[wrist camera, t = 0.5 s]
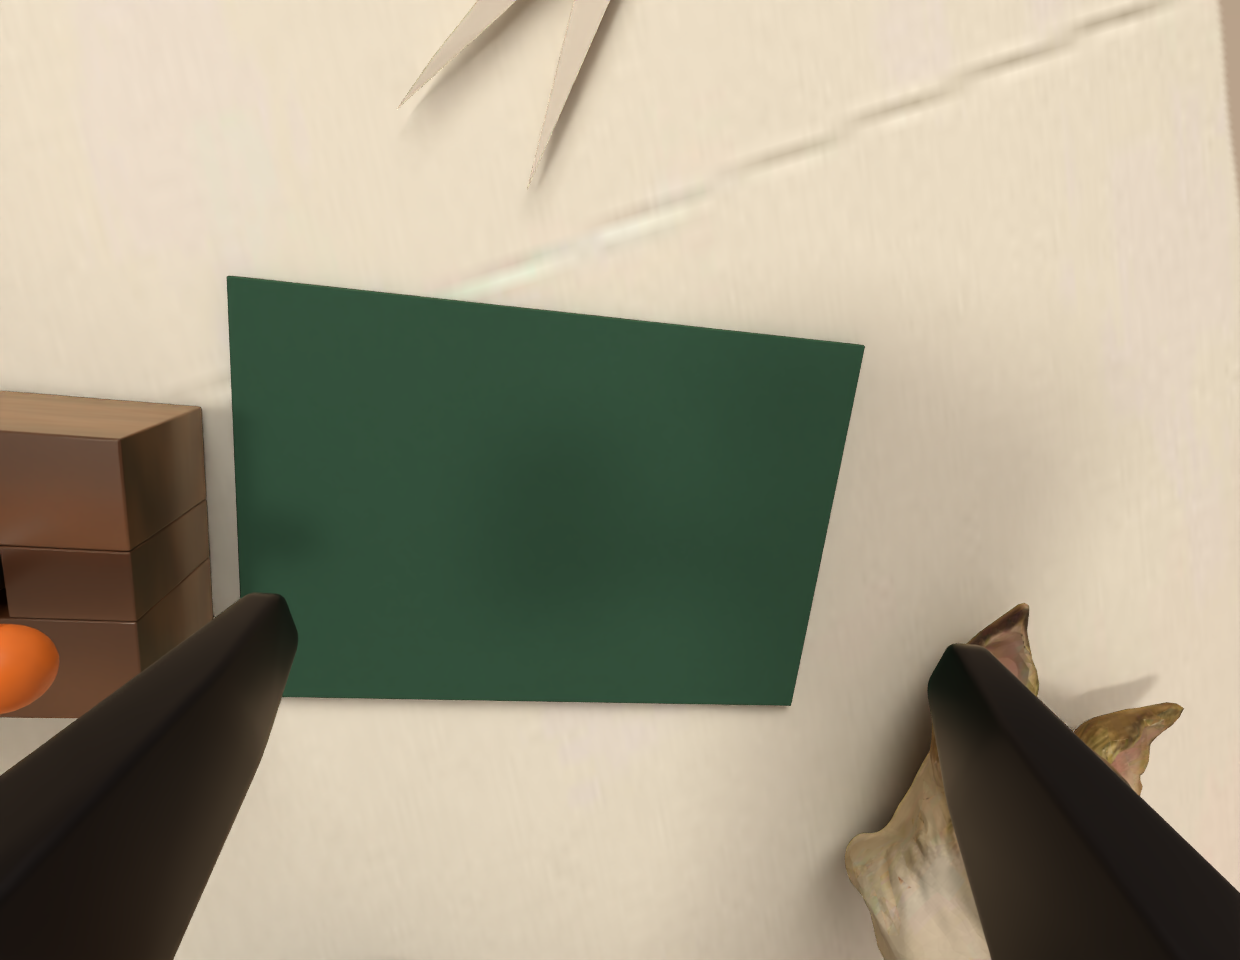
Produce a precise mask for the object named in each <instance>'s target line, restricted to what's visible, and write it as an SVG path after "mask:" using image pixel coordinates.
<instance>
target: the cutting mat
mask: <svg viewBox="0 0 1240 960" xmlns="http://www.w3.org/2000/svg"><path fill="white" fill-rule="evenodd" d="M227 294H228V318H229V342H230V365H231V389H232V412H233V436H234V460H235V483H236V507H237V531H238V554H239V578H240V599H241V598H242V597H244V596H245V595H247V594H250V593H253V592H261V593H274V594H280V595H282V596H283V597H284V598H285V600H286V602H287V604H288V607H289V610H290V613H291V615H292V618H293V621H294V623H295V626H296V629H297V632H298V646H297V650H296V654H295V657H294V660H293V663H292V666H291V669H290V673H289V676H288V679H287V682H286V685H285V688H284V692H283V695H282V697H315V698H373V699H431V700H489V701H547V702H605V703H664V704H722V705H780V706H791V703H792V698H793V693H794V688H795V684H796V679H797V674H798V669H799V664H800V659H801V654H802V650H803V645H804V640H805V635H806V630H807V625H808V620H809V616H810V611H811V606H812V601H813V596H814V591H815V586H816V582H817V577H818V572H819V567H820V562H821V557H822V552H823V547H824V543H825V538H826V533H827V528H828V523H829V518H830V513H831V509H832V504H833V499H834V494H835V489H836V484H837V479H838V475H839V470H840V465H841V460H842V455H843V450H844V445H845V441H846V436H847V431H848V426H849V421H850V416H851V411H852V407H853V402H854V397H855V392H856V387H857V382H858V377H859V373H860V368H861V363H862V358H863V353H864V348H865V346H864V345H859V344H850V343H840V342H831V341H822V340H813V339H804V338H795V337H786V336H776V335H767V334H758V333H749V332H740V331H731V330H722V329H712V328H703V327H694V326H685V325H676V324H667V323H658V322H649V321H639V320H630V319H621V318H612V317H603V316H594V315H585V314H575V313H566V312H557V311H548V310H539V309H530V308H521V307H511V306H502V305H493V304H484V303H475V302H466V301H457V300H447V299H438V298H429V297H420V296H411V295H402V294H393V293H384V292H374V291H365V290H356V289H347V288H338V287H329V286H320V285H310V284H301V283H292V282H283V281H274V280H265V279H256V278H246V277H237V276H227Z"/></svg>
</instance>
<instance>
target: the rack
mask: <svg viewBox="0 0 1240 960" xmlns="http://www.w3.org/2000/svg"><path fill="white" fill-rule="evenodd" d="M0 545H2V546H0V554H1V561H2V568H3V575H4V582H5V588H3V589H1V590H0V624H16V625H25V626H28V627H31V628H34V629H37V630H39V631H40V632H42V633H44V634H45V635H46V636H48V637H49V638H50V639H51V641H52V642H53V643H54V644H55V647H56V649H57V651H58V654H59V668H58V672H57V675H56V677H55V680H54V681H53V683H52V685H51V686H50V687H49V689H48V690H47V691H46V692H45V693H44V694H43V695H42V696H41V697H39V698H38V699H37V700H35V701H34V702H32V703H31V704H29V705H27V706H25V707H23V708H20V709H18V710H16V711H12V712H8V713H4V714H0V717H16V718H79V717H81V716H82V715H84V714H85V713H86V712H88V711H89V710H90V709H92V708H93V707H94V706H96V705H97V704H98V703H100V702H101V701H103V700H104V699H105V698H107V697H108V696H109V695H111V694H112V693H113V692H115V691H116V690H117V689H119V688H120V687H122V686H123V685H124V684H126V683H127V682H128V681H130V680H131V679H132V678H134V677H135V676H136V675H138V674H139V673H141V672H142V671H143V670H145V669H146V668H147V667H149V666H150V665H151V664H153V663H154V662H155V661H157V660H158V659H160V658H161V657H162V656H164V655H165V654H166V653H168V652H169V651H170V650H172V649H173V648H174V647H176V646H177V645H179V644H180V643H181V642H183V641H184V640H185V639H187V638H188V637H189V636H191V635H192V634H193V633H195V632H196V631H198V630H199V629H200V628H202V627H203V626H204V625H206V624H207V623H208V622H210V621H211V620H212V619H213V609H212V591H211V572H210V558H209V537H208V519H207V501H206V486H205V468H204V450H203V431H202V413H201V407H197V406H184V405H172V404H159V403H147V402H134V401H122V400H109V399H97V398H84V397H72V396H59V395H47V394H34V393H22V392H10V391H0Z"/></svg>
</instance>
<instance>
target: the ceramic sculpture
mask: <svg viewBox="0 0 1240 960" xmlns="http://www.w3.org/2000/svg"><path fill="white" fill-rule="evenodd" d="M1028 617H1029V605H1027V604H1025V603H1022V604H1019V605H1017V606H1016V607H1014V608H1013V609H1011V610H1010V611H1009V612H1007V613H1006V614H1004V615H1003V616H1001V617H1000V618H999V619H997V620H996V621H994V622H993V623H992V624H990V625H989V626H987V627H986V628H985V629H983V630H982V631H980V632H979V633H978V634H977V635H976V636H975V637H974V638H973V639H971V640H970V641H969V642H968V643H967V644H971V645H979V646H982V647H984V648H986V649H987V650H989V651H990V652H991V653H992V654H993V655H994V656H995V657H996V658H997V659H998V660H999V661H1000V662H1001V663H1002V664H1003V665H1004V666H1005V667H1006V668H1007V669H1008V670H1009V671H1010V672H1012V673H1013V674H1014V675H1015V676H1016V677H1017V678H1018V679H1019V680H1020V681H1021V682H1022V683H1023V684H1024V685H1025V686H1026V687H1027V688H1028V689H1029V690H1030V691H1031V692H1032V693H1033V694H1034V695H1035V696H1036V697H1037V694H1038V690H1039V681H1038V676H1037V670H1036V668H1035V665H1034V663H1033V661H1032V655H1031V651H1030V646H1029V640H1028V635H1027V626H1028ZM1183 709H1184V708H1183V707H1181V706H1180V705H1178V704H1175V703H1168V702H1166V703H1161V704H1155V705H1150V706H1145V707H1140V708H1133V709H1125V710H1121V711H1117V712H1113V713H1109V714H1106V715H1102V716H1098V717H1094V718H1092V719H1090V720H1088V721H1086V722H1084V723H1083V724H1082V725H1081V726H1079V727H1078V728H1077V729H1076V730H1075V731H1074V733H1075V734H1076V735H1077V736H1078V737H1079V738H1080V739H1081V740H1082V741H1083V742H1084V743H1085V744H1086V745H1087V746H1088V747H1089V748H1090V749H1091V750H1092V751H1093V752H1094V753H1095V754H1096V755H1098V756H1099V757H1100V758H1101V759H1102V760H1103V761H1104V762H1105V763H1106V764H1107V765H1108V766H1109V767H1110V768H1111V769H1112V770H1113V771H1114V772H1115V773H1116V774H1117V775H1118V776H1119V777H1120V778H1121V779H1122V780H1123V781H1124V782H1125V783H1127V784H1128V785H1129V786H1130V787H1131V788H1132V789H1133V790H1134V791H1135V792H1136V793H1137V794H1138V795H1139V796H1140V793H1141V790H1142V784H1141V781H1140V775H1141V774H1143V773H1144V771H1145V769H1146V767H1147V764H1148V762H1149V751H1150V744H1151V743H1152V741H1153V740H1154V739H1155V738H1156V737H1157V736H1158V735H1159V734H1161V733H1162V732H1163V731H1165V730H1166V729H1167V728H1169V727H1170V726H1172V725H1173V723H1174V722H1175V721H1176V720H1177V719H1178V718H1179V717H1180V715H1181V713H1182V711H1183ZM845 865H846V870H847V874H848V877H849V880H850V881H851V883H852V884H853V885H854V886H855V888H856V889H857V890H858V891H859V893H860V894H861V895H862V896H863V899H864V901H865V903H866V905H867V907H868V908H869V911H870V913H871V918H872V923H873V927H874V932H875V936H876V941H877V946H878V948H879V950H880V952H881V954H882V956H883V958H884V960H991V957H990V953H989V950H988V946H987V943H986V939H985V936H984V932H983V929H982V925H981V922H980V919H979V915H978V912H977V908H976V905H975V901H974V898H973V894H972V891H971V887H970V884H969V880H968V877H967V873H966V870H965V866H964V863H963V859H962V856H961V852H960V849H959V845H958V842H957V838H956V835H955V831H954V828H953V825H952V821H951V817H950V813H949V809H948V805H947V801H946V796H945V791H944V786H943V780H942V774H941V768H940V763H939V757H938V751H937V745H936V740H935V734H934V728H933V722H932V737H931V747H930V751H929V753H928V755H927V756H926V758H925V760H924V761H923V763H922V765H921V767H920V768H919V770H918V772H917V774H916V776H915V779H914V781H913V783H912V785H911V787H910V788H909V790H908V791H907V793H906V795H905V796H904V798H903V799H902V801H901V802H900V804H899V805H898V807H897V809H896V811H895V813H894V815H893V817H892V819H891V820H890V822H889V823H888V824H887V826H886V827H884V828H883V829H882V830H880V831H878V832H875V833H861V834H858V835H857V836H855V837H854V838H853V839H852V840H851V841H850V842H849V844H848V846H847V848H846V853H845Z"/></svg>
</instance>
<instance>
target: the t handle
mask: <svg viewBox="0 0 1240 960" xmlns="http://www.w3.org/2000/svg"><path fill="white" fill-rule="evenodd" d="M0 546H2V545H0ZM3 588H5V582H4V575H3V568H2V561H1V554H0V590H1V589H3ZM58 668H59V654H58V651H57V649H56V647H55V644H54V643H53V642H52V641H51V639H50V638H49V637H48V636H46V635H45V634H44V633H42V632H40V631H39V630H37V629H34V628H31V627H28V626H25V625H16V624H0V714H4V713H8V712H12V711H16V710H18V709H20V708H23V707H25V706H27V705H29V704H31V703H32V702H34V701H35V700H37V699H38V698H39V697H41V696H42V695H43V694H44V693H45V692H46V691H47V690H48V689H49V687H50V686H51V685H52V683H53V681H54V680H55V677H56V675H57V672H58Z"/></svg>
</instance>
